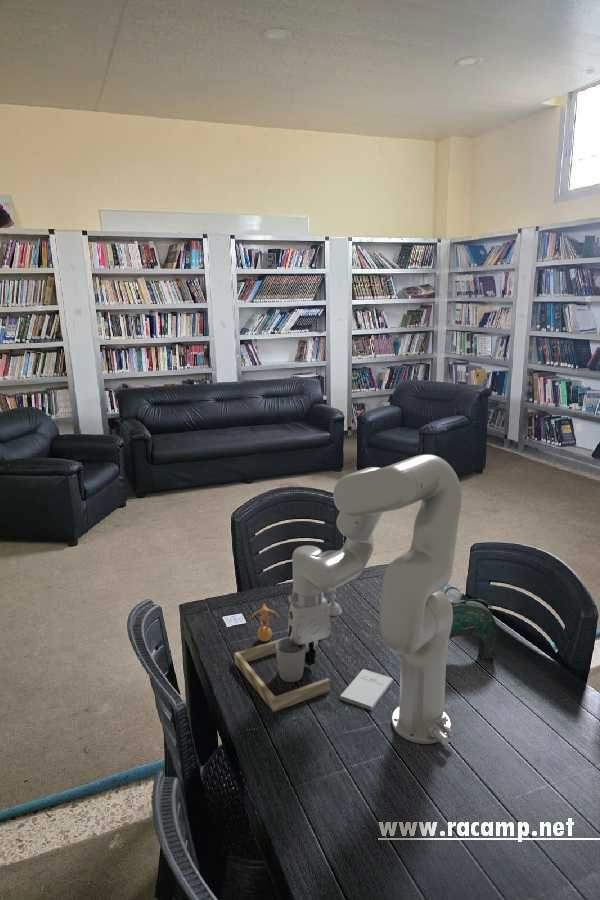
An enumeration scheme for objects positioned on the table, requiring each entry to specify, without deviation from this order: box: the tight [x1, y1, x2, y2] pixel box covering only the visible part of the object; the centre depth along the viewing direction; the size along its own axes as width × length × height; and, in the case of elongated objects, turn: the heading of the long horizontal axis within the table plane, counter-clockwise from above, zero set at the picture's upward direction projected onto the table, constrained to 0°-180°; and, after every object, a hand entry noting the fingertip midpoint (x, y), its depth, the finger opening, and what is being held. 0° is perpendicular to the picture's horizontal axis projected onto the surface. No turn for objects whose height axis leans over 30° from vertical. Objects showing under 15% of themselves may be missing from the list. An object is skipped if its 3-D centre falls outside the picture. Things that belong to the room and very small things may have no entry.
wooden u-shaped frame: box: [234, 636, 331, 713], centre depth 153 cm, size 22×15×3 cm
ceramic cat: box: [444, 586, 499, 659], centre depth 158 cm, size 20×6×20 cm, turn 92°
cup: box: [275, 636, 306, 683], centre depth 154 cm, size 8×10×8 cm
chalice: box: [323, 549, 343, 617], centre depth 182 cm, size 7×7×18 cm
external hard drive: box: [339, 669, 394, 711], centre depth 148 cm, size 2×8×12 cm
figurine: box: [248, 603, 281, 643], centre depth 167 cm, size 8×6×12 cm
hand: (308, 662), depth 157 cm, fingers closed
